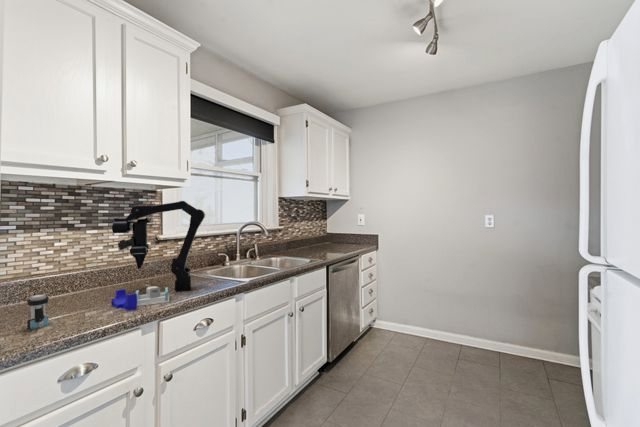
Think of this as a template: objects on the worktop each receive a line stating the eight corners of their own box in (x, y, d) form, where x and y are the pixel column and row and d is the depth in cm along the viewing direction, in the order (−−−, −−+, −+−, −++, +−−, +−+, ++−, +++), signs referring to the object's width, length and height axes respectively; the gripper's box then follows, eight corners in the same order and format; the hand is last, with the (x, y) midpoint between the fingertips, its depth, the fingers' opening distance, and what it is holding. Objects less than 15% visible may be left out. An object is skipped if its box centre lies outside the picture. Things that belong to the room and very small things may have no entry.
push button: (47, 321, 106) (47, 292, 106) (57, 323, 104) (57, 293, 104) (23, 328, 100) (23, 297, 100) (33, 330, 98) (32, 299, 98)
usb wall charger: (149, 298, 125) (149, 288, 125) (144, 296, 130) (144, 286, 130) (160, 296, 128) (160, 287, 128) (154, 294, 133) (154, 285, 133)
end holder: (169, 296, 136) (169, 286, 136) (169, 302, 127) (169, 292, 127) (135, 299, 131) (135, 290, 131) (132, 306, 122) (132, 296, 122)
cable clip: (111, 306, 123) (111, 291, 123) (123, 303, 127) (123, 288, 127) (123, 312, 116) (123, 296, 116) (136, 309, 119) (136, 293, 119)
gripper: (122, 232, 146) (122, 265, 147) (115, 234, 130) (116, 272, 130) (148, 231, 151) (149, 263, 152) (145, 233, 135) (146, 269, 135)
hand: (140, 266), depth 142 cm, fingers open, 9 cm apart
